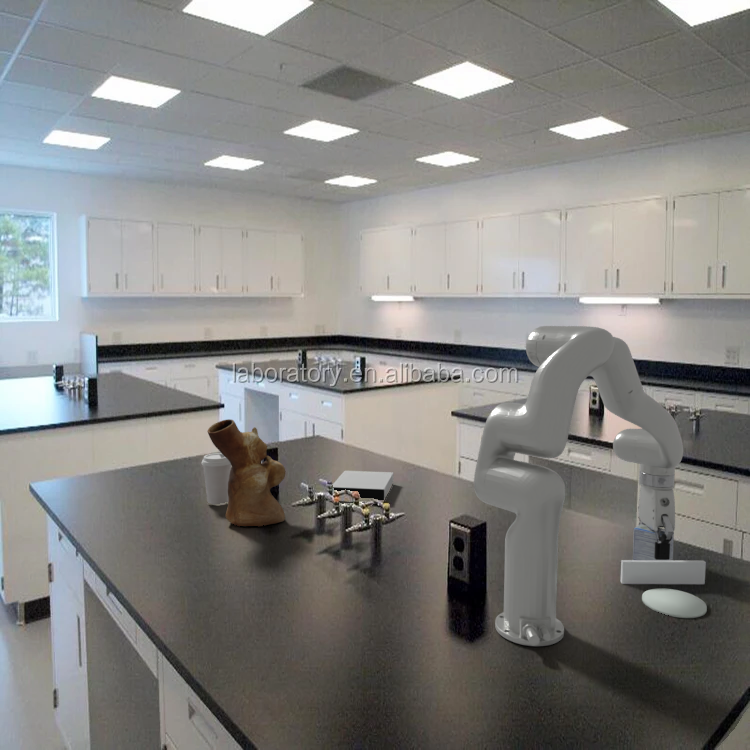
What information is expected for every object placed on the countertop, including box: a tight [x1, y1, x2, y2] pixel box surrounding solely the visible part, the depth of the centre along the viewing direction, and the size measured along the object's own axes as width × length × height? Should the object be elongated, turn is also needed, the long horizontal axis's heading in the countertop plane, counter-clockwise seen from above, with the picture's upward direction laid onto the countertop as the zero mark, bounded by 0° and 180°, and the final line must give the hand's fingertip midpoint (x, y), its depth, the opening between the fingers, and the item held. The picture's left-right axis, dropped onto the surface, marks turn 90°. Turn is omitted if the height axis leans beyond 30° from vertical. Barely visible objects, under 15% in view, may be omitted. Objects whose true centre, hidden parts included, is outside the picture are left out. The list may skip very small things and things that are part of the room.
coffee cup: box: [200, 452, 232, 504], centre depth 198 cm, size 10×10×15 cm
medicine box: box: [632, 524, 675, 560], centre depth 150 cm, size 8×4×9 cm, turn 47°
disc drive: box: [332, 470, 394, 500], centre depth 210 cm, size 18×22×5 cm
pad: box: [641, 587, 708, 619], centre depth 130 cm, size 12×12×1 cm
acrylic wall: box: [620, 559, 707, 585], centre depth 140 cm, size 1×18×5 cm, turn 89°
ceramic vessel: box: [207, 419, 286, 527], centre depth 179 cm, size 16×22×30 cm
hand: (653, 551), depth 150 cm, fingers closed on medicine box, 8 cm apart
